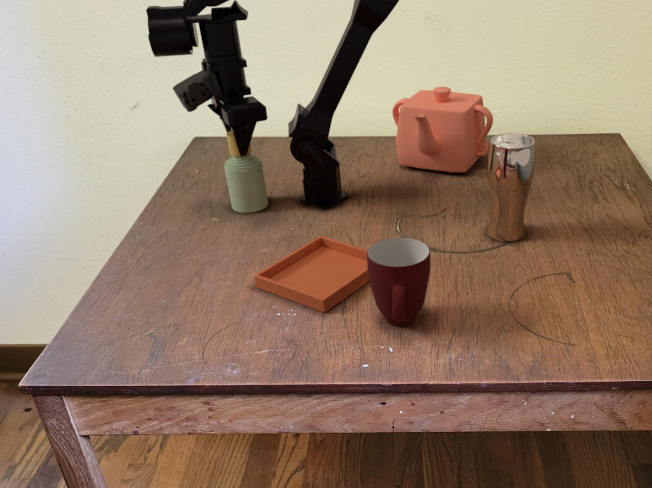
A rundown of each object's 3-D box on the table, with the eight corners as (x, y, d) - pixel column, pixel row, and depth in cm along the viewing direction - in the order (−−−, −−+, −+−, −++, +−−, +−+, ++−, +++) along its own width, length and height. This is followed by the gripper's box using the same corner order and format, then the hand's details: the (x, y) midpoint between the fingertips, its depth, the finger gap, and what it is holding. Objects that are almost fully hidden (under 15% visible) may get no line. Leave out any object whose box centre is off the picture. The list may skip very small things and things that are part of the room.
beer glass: (533, 228, 116) (541, 135, 107) (520, 246, 111) (528, 151, 102) (492, 221, 119) (497, 130, 109) (478, 238, 114) (482, 145, 104)
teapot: (368, 179, 134) (363, 103, 125) (407, 145, 148) (405, 74, 139) (469, 193, 128) (471, 114, 119) (500, 156, 142) (504, 82, 133)
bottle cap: (255, 153, 120) (252, 133, 118) (235, 158, 119) (232, 138, 117) (246, 147, 123) (243, 127, 121) (226, 152, 121) (222, 132, 119)
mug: (437, 343, 91) (437, 274, 85) (375, 348, 91) (370, 279, 85) (425, 300, 100) (425, 235, 93) (368, 305, 99) (364, 239, 93)
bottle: (249, 195, 130) (238, 128, 122) (275, 202, 127) (265, 134, 120) (224, 208, 126) (210, 139, 118) (250, 215, 123) (238, 146, 116)
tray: (321, 247, 113) (320, 235, 112) (388, 268, 107) (387, 256, 106) (256, 287, 104) (253, 275, 103) (324, 313, 98) (323, 300, 97)
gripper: (158, 47, 115) (180, 144, 124) (185, 74, 101) (207, 180, 111) (225, 38, 118) (241, 133, 128) (260, 62, 105) (275, 166, 115)
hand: (240, 152), depth 121 cm, fingers closed on bottle cap, 3 cm apart
